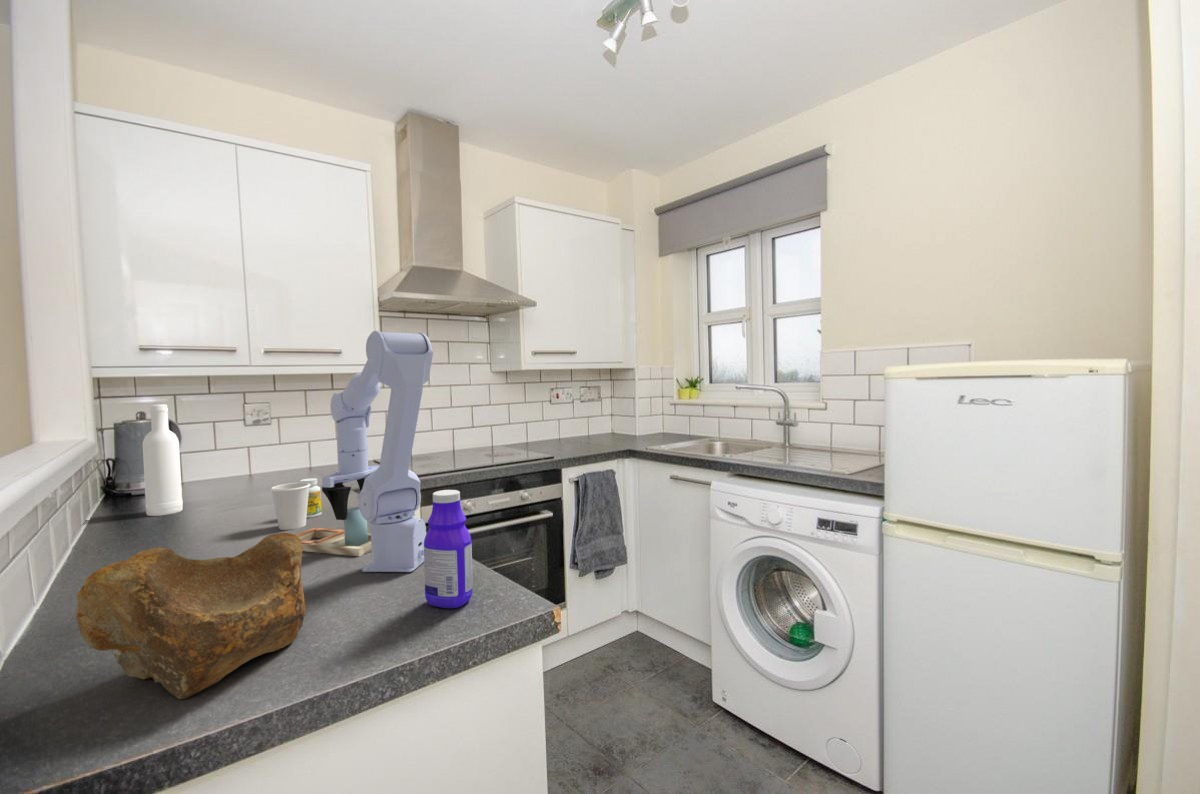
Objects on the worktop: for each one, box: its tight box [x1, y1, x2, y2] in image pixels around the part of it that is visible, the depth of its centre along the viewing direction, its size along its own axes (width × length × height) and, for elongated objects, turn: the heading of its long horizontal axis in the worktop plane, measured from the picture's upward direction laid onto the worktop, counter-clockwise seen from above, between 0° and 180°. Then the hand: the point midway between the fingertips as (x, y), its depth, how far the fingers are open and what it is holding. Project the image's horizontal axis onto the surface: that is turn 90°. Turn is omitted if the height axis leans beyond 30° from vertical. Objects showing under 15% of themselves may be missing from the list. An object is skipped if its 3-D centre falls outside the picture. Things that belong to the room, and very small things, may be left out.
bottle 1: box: [141, 403, 184, 517], centre depth 145 cm, size 8×8×30 cm
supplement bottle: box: [299, 477, 323, 519], centre depth 138 cm, size 5×5×10 cm
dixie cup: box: [270, 482, 310, 531], centre depth 128 cm, size 8×8×10 cm
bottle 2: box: [423, 489, 474, 609], centre depth 82 cm, size 7×6×17 cm
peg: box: [343, 506, 369, 547], centre depth 111 cm, size 4×4×8 cm
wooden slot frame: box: [294, 527, 371, 557], centre depth 112 cm, size 21×10×2 cm, turn 73°
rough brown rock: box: [75, 532, 307, 700], centre depth 64 cm, size 23×17×15 cm
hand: (355, 514), depth 110 cm, fingers open, 7 cm apart
